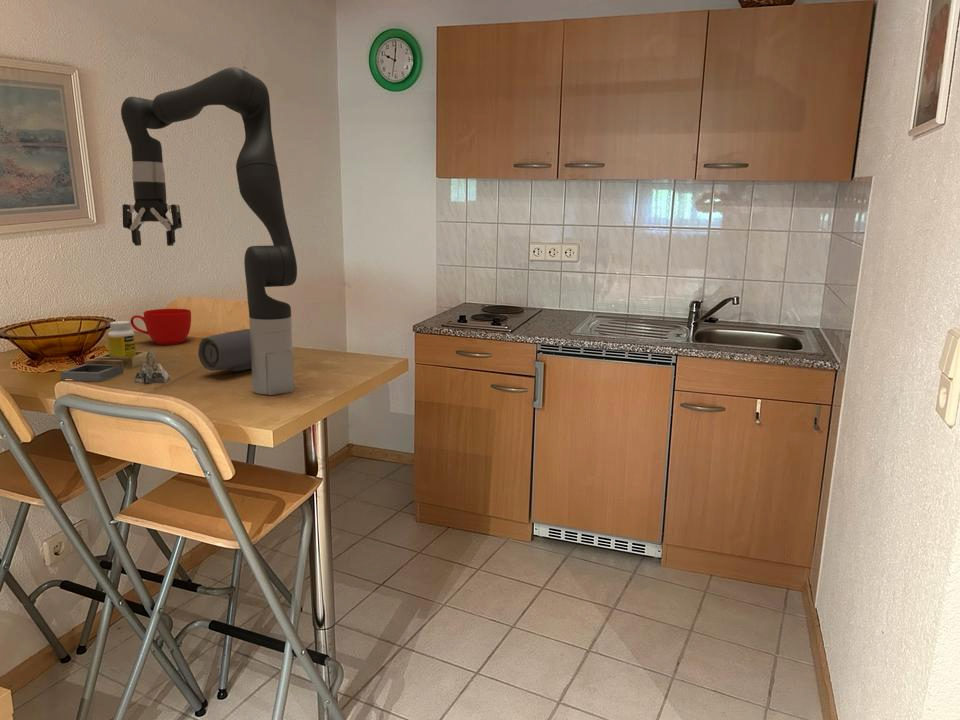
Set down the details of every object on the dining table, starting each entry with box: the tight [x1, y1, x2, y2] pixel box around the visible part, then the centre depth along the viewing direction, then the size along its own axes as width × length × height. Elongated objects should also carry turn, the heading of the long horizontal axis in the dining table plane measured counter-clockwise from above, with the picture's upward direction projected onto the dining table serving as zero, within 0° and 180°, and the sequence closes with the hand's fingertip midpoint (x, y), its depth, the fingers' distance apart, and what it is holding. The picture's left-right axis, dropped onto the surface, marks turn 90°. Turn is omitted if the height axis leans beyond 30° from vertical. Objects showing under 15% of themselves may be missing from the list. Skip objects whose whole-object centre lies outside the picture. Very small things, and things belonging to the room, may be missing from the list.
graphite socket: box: [60, 363, 124, 383], centre depth 172 cm, size 10×10×2 cm
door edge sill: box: [83, 359, 125, 371], centre depth 180 cm, size 9×1×2 cm, turn 90°
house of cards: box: [133, 349, 171, 390], centre depth 166 cm, size 9×9×8 cm
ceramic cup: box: [129, 308, 192, 346], centre depth 214 cm, size 13×17×10 cm
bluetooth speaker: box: [197, 328, 252, 373], centre depth 184 cm, size 23×9×10 cm, turn 148°
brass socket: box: [93, 350, 150, 369], centre depth 187 cm, size 10×10×2 cm
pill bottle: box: [107, 320, 137, 358], centre depth 186 cm, size 6×6×11 cm
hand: (154, 245), depth 186 cm, fingers open, 8 cm apart
